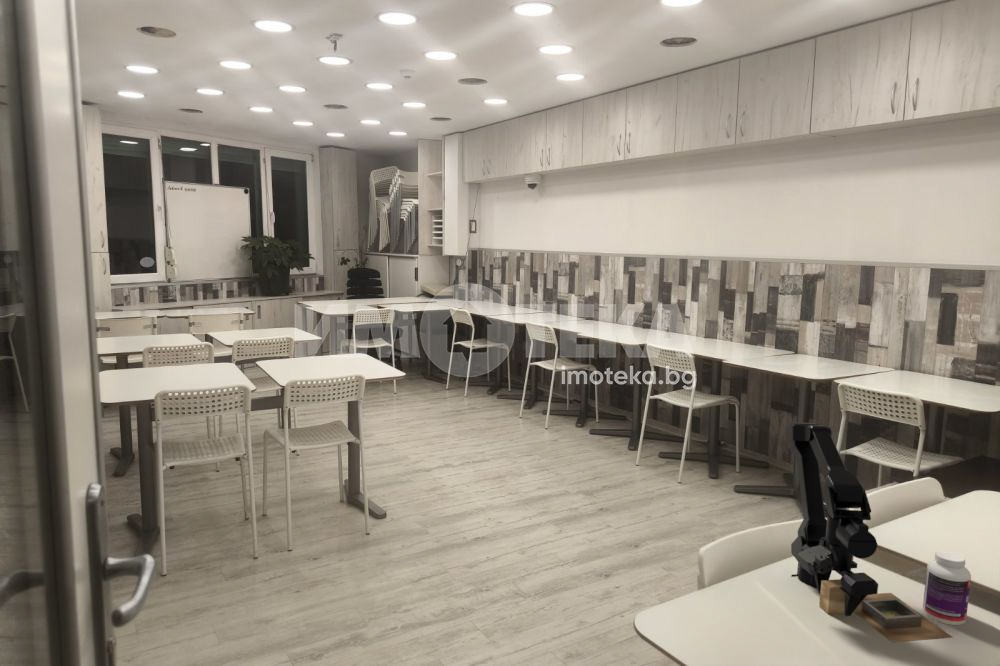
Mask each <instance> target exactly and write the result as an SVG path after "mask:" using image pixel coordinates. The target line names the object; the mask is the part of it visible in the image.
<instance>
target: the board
mask: <svg viewBox="0 0 1000 666" xmlns="http://www.w3.org/2000/svg"><path fill="white" fill-rule="evenodd" d="M891 598H897V599H899V600H900V601H901V602H903V603H904V604H906V605H907V606H908V607H910V608H911V609H913V610H914V611H915V612H917V613H918V614H920V615H921V616H922V621H921V627H913V628H900V629H888V630H885V629H884V628H882V627H881V626H880V625H879V624H877V623H876V622H875V621H874V620H872V619H871V618H870V617H869V616H867V615H866V614H865V613H864V612H862V611H861V610H862V601H864V600H878V599H891ZM862 601H861V603H860V604H859V605H858V607H857V608H856V609H855V610H854V612H853V613H855V614H856V615H857V616H859V618H861V619H862V620H864V621H865V622H866V623H868V625H870V626H871V627H872V628H874V629H875V630H876V631H877V632H879V634H881V635H882V636H883V637H884V638H886V639H887V640H888V641H890V642H891V643H900V642H901V643H902V642H903V643H904V642H911V641H914V642H915V641H925V640H927V641H929V640H938V639H949V638H950V639H951V638H953V635H951V634H950V633H948V632H946V630H944V629H942V628H941V627H940V626H939V625H937V624H935V623H934V622H933V621H932V620H930V619H928V618H927V617H926V616H924V615H923V614H921V613H920V612H919V611H917V610H916V609H914V608H913V607H912V606H910V605H909V604H907V603H906V602H905V601H903V600H902V599H900V598H899V597H897V596H896V595H895V594H893V592H883V593H882V592H881V593H877V594H872V595H867V596H866V597H865V598H864V599H863V600H862Z"/></svg>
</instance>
